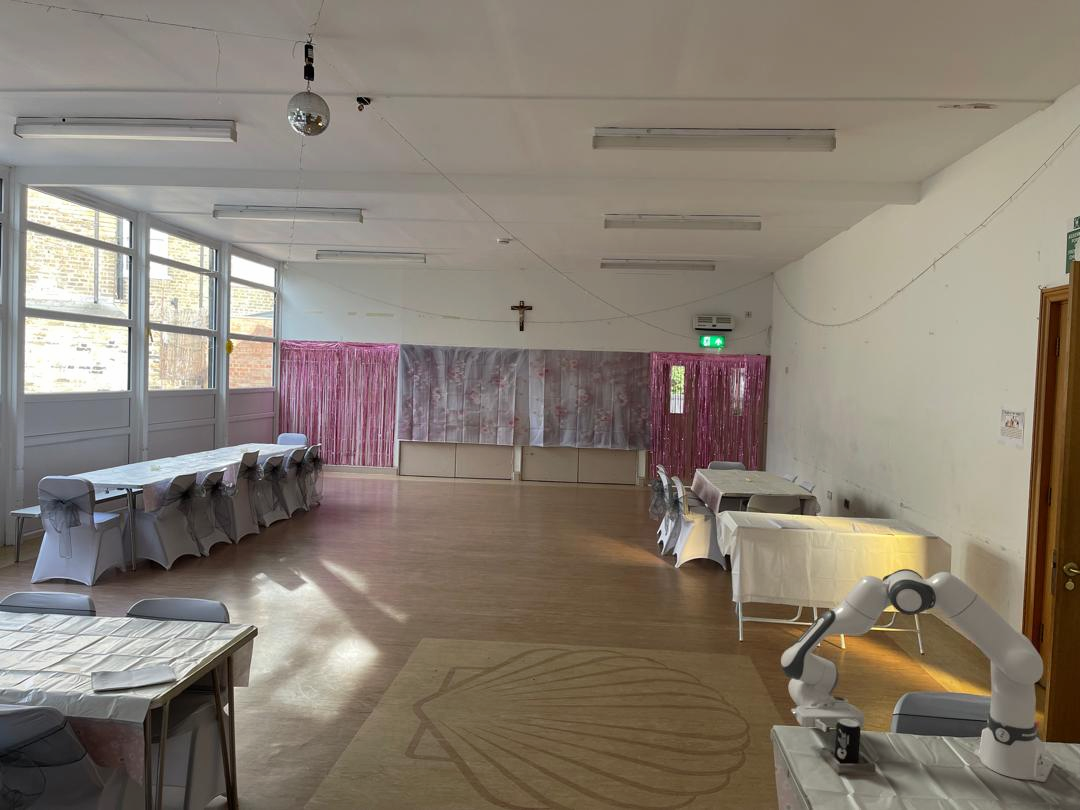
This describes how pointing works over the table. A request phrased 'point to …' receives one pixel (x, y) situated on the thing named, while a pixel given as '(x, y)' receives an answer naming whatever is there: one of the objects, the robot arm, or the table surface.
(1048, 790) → the table surface
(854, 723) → the beverage can
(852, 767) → the brown flat square tray
